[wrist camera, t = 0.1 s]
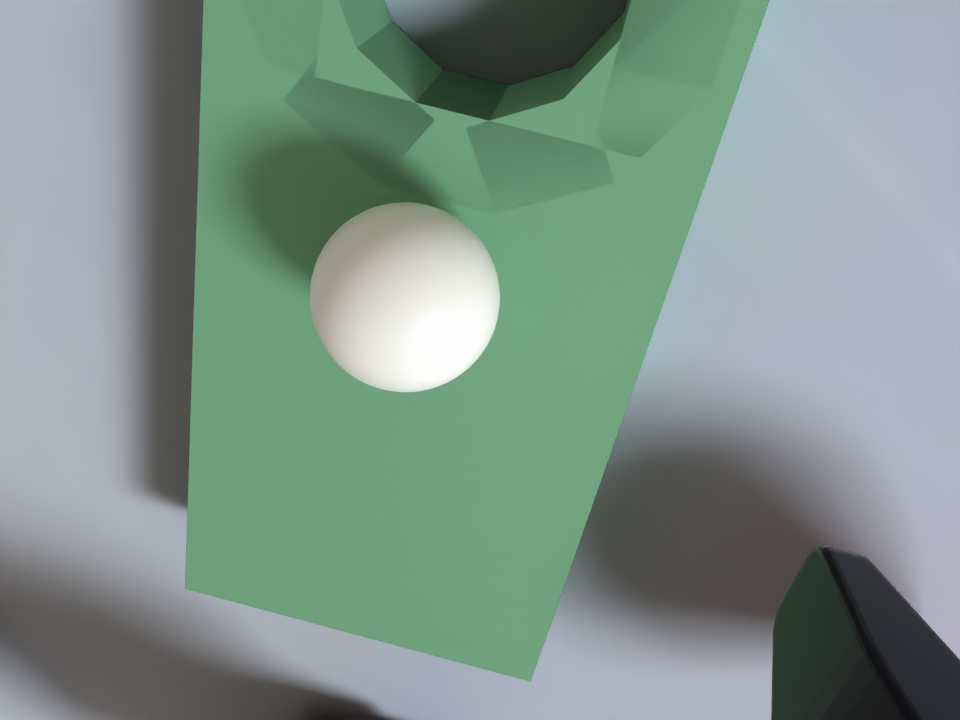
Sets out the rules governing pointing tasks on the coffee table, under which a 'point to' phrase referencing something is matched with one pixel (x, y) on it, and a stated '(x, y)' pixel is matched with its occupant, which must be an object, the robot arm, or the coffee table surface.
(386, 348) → the ball
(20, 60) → the coffee table surface
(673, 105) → the putting mat
